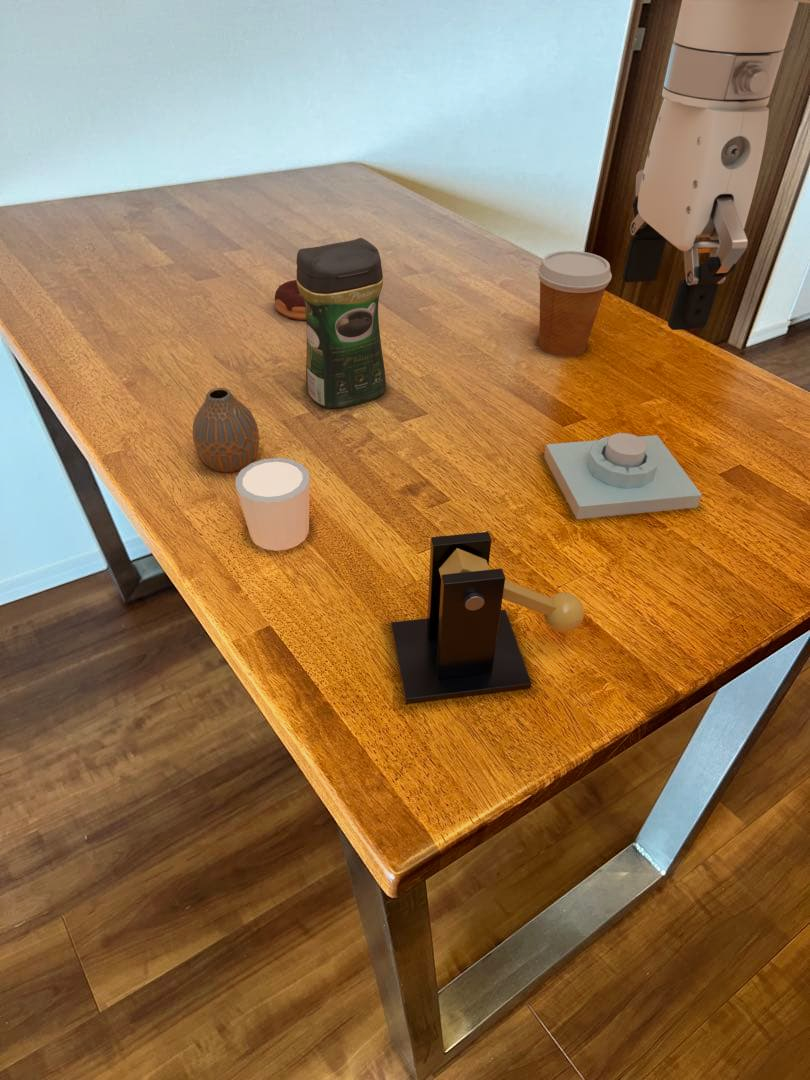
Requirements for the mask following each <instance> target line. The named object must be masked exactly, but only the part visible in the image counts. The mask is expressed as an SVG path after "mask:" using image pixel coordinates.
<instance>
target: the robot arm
mask: <svg viewBox="0 0 810 1080" xmlns="http://www.w3.org/2000/svg"><path fill="white" fill-rule="evenodd" d="M799 3H803V4H810V0H681V4H680V8H679V13H678V18H677V21H676V27H675V32H674V36H673V42H672V45H671V50H670V55H669V58H668V64H667V68H666V73H665V78H664V82H663V87H662V92H661V97H662V98H663V101H662V104H661V107H660V111H659V113H658V116H657V119H656V122H655V125H654V129H653V133H652V136H651V140H650V143H649V147H648V152H647V154H646V155H647V156H646V160H645V163H644V167H643V169H641V170H639V171H637V172H636V175H635V198H634V199H633V203H632V208H633V216H634V218H633V220H632V221H631V224H630V228H629V231H630V234H631V235H632V236H630V239H629V244H628V248H627V253H626V258H625V262H624V267H623V271H622V280H623V281H624V282H625V283H641V282H654V281H656V279H657V278H658V274H659V271H660V267H661V264H662V259H663V255H664V251H665V248H666V243H667V241H668V242H669V243H670V244H672V246H674V247H675V248H676V249H678V250H680V251H682V252H683V265H684V273H685V274H684V275H685V279H682V280H681V279H680V280H678V281H679V282H678V285H677V288H676V292H675V297H674V300H673V303H672V307H671V311H670V313H669V318H668V322H667V326H668V327H669V328H670V330H672V331H679V330H694V329H704V328H705V327H706V326H707V324H708V321H709V319H710V314H711V311H712V308H713V305H714V302H715V299H716V295H717V292H718V289H719V287H720V286H719V285H721V284H723V283H725V281H726V278H727V276H728V275H730V274H731V273H732V272H734V270H735V268H736V266H737V265H736V264H737V263H738V261H739V260H740V259H741V257H742V256H743V254H744V253H745V252H746V250H747V248H748V245H749V240H748V237H747V234H746V232H745V227H746V224H747V220H748V217H749V213H750V209H751V206H752V202H753V197H754V195H755V190H756V186H757V182H758V179H759V174H760V171H761V166H762V165H761V164H762V159H763V155H764V151H765V144H766V138H767V131H768V125H769V116H770V108H769V107H767V106H768V105H769V102H770V98H771V95H772V91H773V90H774V89H773V88H774V85H775V82H776V79H777V75H778V72H779V69H780V66H781V63H782V58H783V56H784V53H785V48H786V46H787V42H788V38H789V36H790V32H791V29H792V26H793V23H794V19H795V16H796V12H797V9H798V6H799ZM697 238H709V239H707V240H696V239H697ZM707 253H708V254H709V257H708V259H706V260H704V261H703V263H701V264H700V260H699V254H707Z"/></svg>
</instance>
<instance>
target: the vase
mask: <svg viewBox="0 0 810 1080" xmlns="http://www.w3.org/2000/svg"><path fill="white" fill-rule="evenodd" d="M192 440H193V444H194V448H195V451H196V453H197V454H198V457H199V458H200V460H201V461H202V462H203V463H204V464H205V465H206V466H207V467H209V468H210V469H212V470H213V471H216V472H219V473H234V472H240V471H241V470H242V469H243V468H245V467H246V466H248V465H249V464H251V463H253V462H254V460H255V458H256V457H257V454H258V451H259V446H260V434H259V427H258V424H257V421H256V419H255V417H254V415H253V413H252V412H251V411H250V409H249V408H248V407H247V406H246V405H245V404H244V403H242V401H240V400H238V399H237V398H236V397H235V396H234V395H233V393H232V392H231V390H229V389H228V388H225V387H216V388H212V389H210V390H209V391H208V392H207V393H206V395H205V399H204V401H203V403H202V405H200V408H199V409H198V410H197V412H196V413H195V416H194V419H193V423H192Z"/></svg>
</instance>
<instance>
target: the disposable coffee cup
mask: <svg viewBox="0 0 810 1080" xmlns="http://www.w3.org/2000/svg"><path fill="white" fill-rule="evenodd" d="M537 275H538V280H539V332H538V333H539V336H538V338H539V339H538V343H539V344H538V345H539V347H540V349H541V350H542V351H544V352H545V353H547V354H549V355H552V356H557V357H576V356H579V355H581V354H583V353H584V352H585V350H586V348H587V345H588V342H589V339H590V336H591V333H592V330H593V328H594V324H595V320H596V318H597V315H598V311H599V309H600V305H601V303H602V300H603V296H604V294H605V290H606V288H607V286H608V285H609V284H610V282H611V280H612V277H613V274H612V272H611V265H610V263H609V261H608V260H607V259H605V258H604V257H602V256H600V255H597V254H595V253H591V252H587V251H580V250H559V251H554V252H551V253H548V254H547V255H545V256H544V257H543V259H542V261H541V263H540V265H539V266H538V267H537Z"/></svg>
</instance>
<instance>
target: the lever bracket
mask: <svg viewBox="0 0 810 1080" xmlns="http://www.w3.org/2000/svg"><path fill="white" fill-rule="evenodd" d="M492 542H493V541H492V538H491V535H490V532H489V531H481V532H471V533H460V534H452V535H450V534H449V535H440V536H431V537H430V547H429V548H430V550H429V551H430V552H429V570H428V571H429V572H428V573H429V574H428V594H427V595H428V596H427V616H426V617H427V618H418V619H408V620H400V621H399V620H398V621H391V622H390V630H391V635H392V640H393V645H394V651H395V656H396V661H397V666H398V672H399V676H400V680H401V687H402V692H403V698H404V702H405V705H412V704H420V703H427V702H428V703H429V702H436V701H443V700H452V699H460V698H466V697H475V696H483V695H491V694H498V693H500V694H501V693H506V692H507V693H508V692H514V691H523V690H530V689H531V688H532V681H531V679H530V676H529V673H528V670H527V666H526V664H525V662H524V658H523V656H522V652H521V650H520V647H519V644H518V641H517V639H516V635H515V633H514V631H513V627H512V624H511V621H510V619H509V616H508V613H507V611H506V609H502V603H503V599H502V598H503V591H504V584H505V580H506V576H505V572H504V570H503V569H502V568H492V569H490V570H482V571H473V572H463V573H454V574H444V575H442V576H440V573H439V568H440V567H441V566H442V565H443V564H444V562H445V561H446V560H447V559H448V558H449V557H450V556H451V554H452V553H453V552H454V551H455V550H456V549H457V548H458V549H461V550H463V551H466V552H468V553H471V554H473V555H476V556H478V557H481V558H483V559H486V561H487V563H488V566H489V567H490V558H491V557H490V556H491V548H492Z"/></svg>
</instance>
